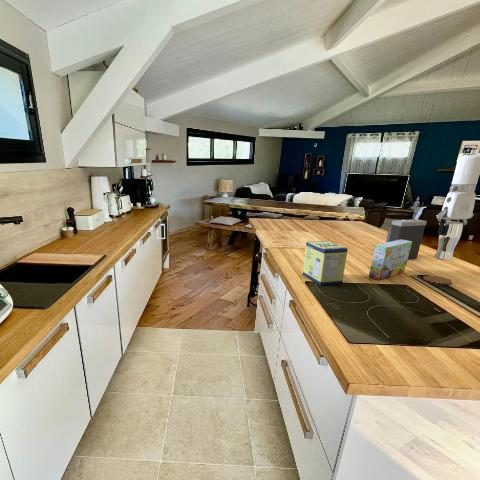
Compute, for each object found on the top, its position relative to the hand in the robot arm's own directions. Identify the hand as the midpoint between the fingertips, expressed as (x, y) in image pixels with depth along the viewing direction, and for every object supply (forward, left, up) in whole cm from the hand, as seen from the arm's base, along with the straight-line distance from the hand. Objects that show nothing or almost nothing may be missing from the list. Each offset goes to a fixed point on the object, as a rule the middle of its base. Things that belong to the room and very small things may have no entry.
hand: (449, 234), depth 128 cm
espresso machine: (-13, -36, -20) cm, 43 cm away
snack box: (+15, -11, -20) cm, 28 cm away
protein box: (+47, -12, -20) cm, 53 cm away
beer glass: (0, 0, -10) cm, 10 cm away
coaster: (0, 0, -20) cm, 20 cm away
